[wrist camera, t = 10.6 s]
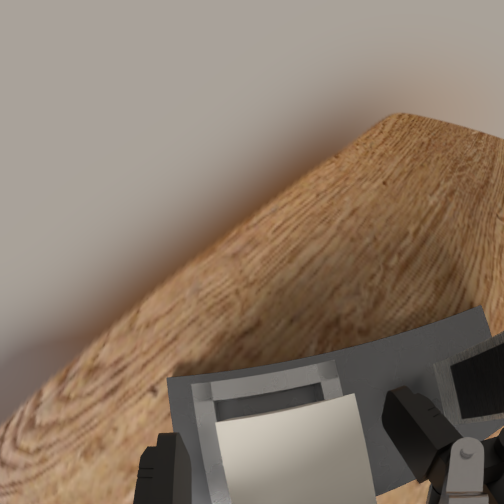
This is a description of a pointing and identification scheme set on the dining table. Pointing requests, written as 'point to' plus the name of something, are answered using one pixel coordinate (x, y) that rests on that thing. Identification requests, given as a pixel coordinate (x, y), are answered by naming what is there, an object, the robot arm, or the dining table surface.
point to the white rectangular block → (298, 455)
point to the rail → (348, 382)
